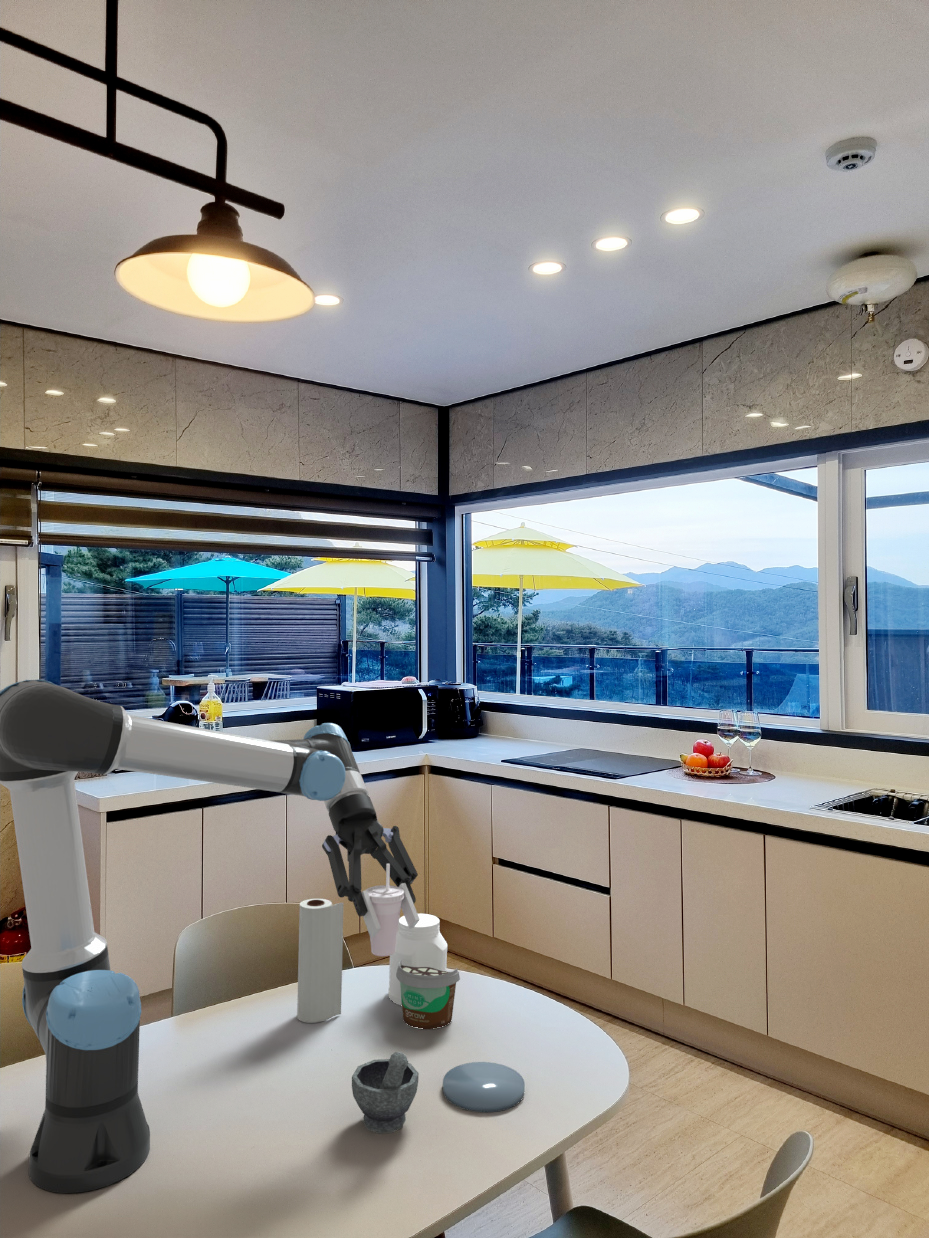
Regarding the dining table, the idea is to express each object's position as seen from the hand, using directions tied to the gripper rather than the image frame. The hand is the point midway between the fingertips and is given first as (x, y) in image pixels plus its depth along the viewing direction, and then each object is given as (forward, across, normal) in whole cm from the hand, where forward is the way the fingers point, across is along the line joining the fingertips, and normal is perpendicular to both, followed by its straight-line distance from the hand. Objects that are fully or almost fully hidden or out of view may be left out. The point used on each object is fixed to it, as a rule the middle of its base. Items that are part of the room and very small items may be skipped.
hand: (395, 928), depth 136 cm
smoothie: (+1, 0, -6) cm, 6 cm away
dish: (+23, -13, -14) cm, 30 cm away
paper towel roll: (-3, -2, -41) cm, 42 cm away
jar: (-2, -23, -40) cm, 46 cm away
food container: (+6, -17, -32) cm, 37 cm away
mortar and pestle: (+23, +5, -14) cm, 27 cm away
